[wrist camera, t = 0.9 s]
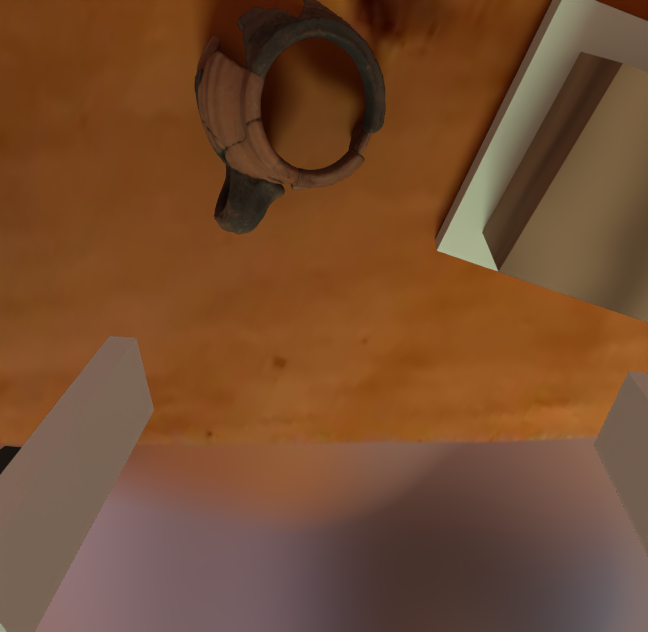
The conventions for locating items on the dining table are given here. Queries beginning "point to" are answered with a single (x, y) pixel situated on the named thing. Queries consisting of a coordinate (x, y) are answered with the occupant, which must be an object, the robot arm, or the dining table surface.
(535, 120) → the build board
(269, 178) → the pottery mug
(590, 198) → the walnut block
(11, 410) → the dining table surface
